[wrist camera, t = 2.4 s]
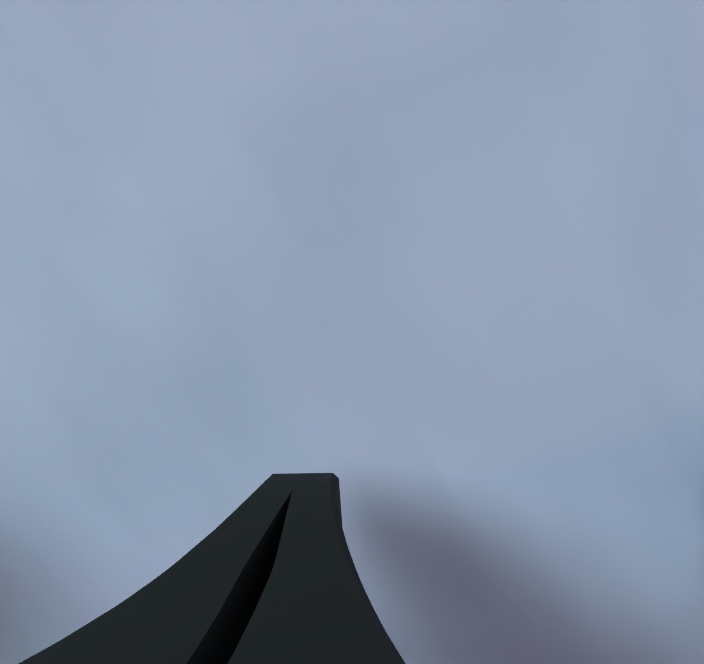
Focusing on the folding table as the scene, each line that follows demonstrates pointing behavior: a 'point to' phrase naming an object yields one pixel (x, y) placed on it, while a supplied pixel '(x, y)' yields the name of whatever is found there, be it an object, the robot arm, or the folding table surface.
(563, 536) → the folding table surface
